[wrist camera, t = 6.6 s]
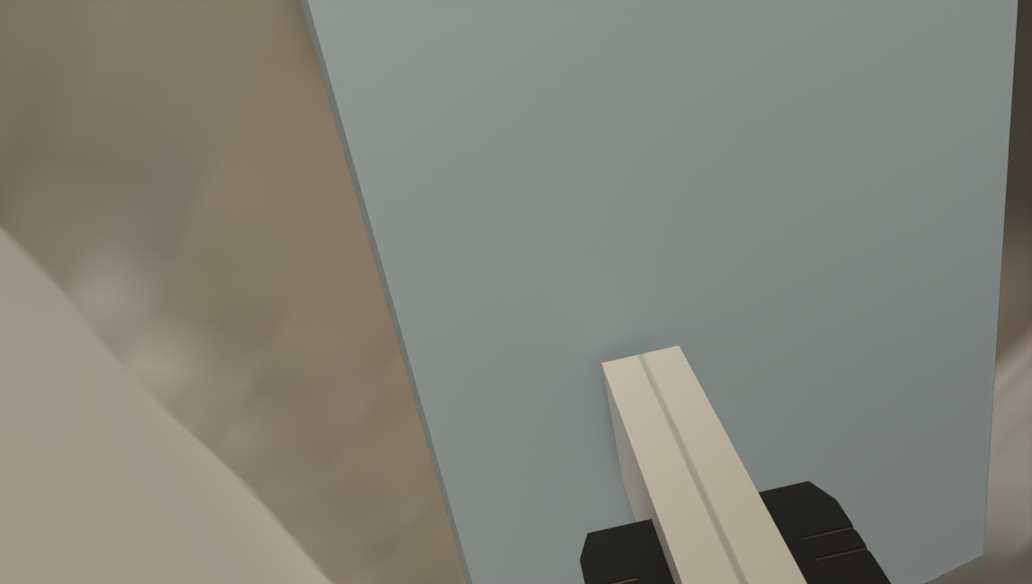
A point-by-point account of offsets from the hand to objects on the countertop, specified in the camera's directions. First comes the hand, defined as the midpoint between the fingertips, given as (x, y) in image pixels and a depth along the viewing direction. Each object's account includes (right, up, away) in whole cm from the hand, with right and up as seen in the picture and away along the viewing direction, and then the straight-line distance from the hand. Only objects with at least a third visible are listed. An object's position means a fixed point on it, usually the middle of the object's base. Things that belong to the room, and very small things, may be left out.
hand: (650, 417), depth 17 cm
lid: (+2, +1, +2) cm, 3 cm away
